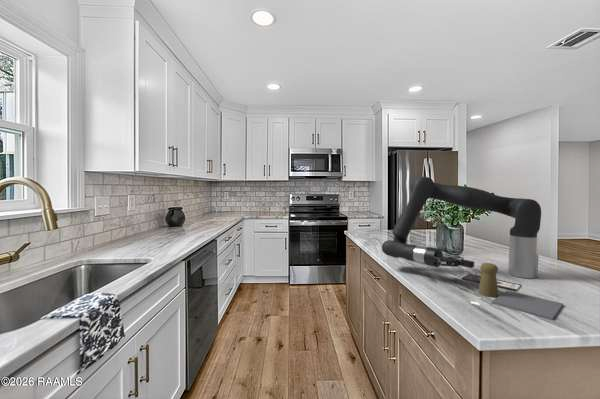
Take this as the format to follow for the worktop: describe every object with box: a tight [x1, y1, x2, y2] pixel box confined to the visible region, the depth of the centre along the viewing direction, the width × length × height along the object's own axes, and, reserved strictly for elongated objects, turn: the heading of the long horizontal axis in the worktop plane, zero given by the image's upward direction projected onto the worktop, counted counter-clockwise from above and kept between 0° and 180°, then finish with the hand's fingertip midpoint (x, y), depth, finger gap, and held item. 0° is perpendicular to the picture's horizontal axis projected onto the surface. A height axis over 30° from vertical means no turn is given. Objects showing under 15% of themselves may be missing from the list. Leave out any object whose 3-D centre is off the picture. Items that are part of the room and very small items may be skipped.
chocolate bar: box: [461, 273, 522, 292], centre depth 112 cm, size 9×1×18 cm
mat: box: [491, 289, 564, 321], centre depth 91 cm, size 15×16×1 cm
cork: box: [477, 262, 499, 299], centre depth 100 cm, size 6×6×11 cm
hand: (473, 264), depth 103 cm, fingers closed
